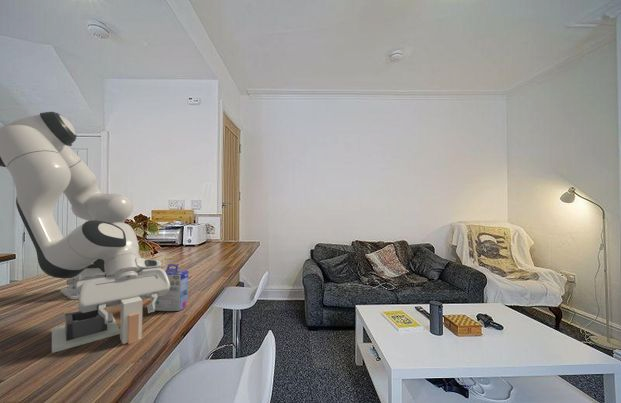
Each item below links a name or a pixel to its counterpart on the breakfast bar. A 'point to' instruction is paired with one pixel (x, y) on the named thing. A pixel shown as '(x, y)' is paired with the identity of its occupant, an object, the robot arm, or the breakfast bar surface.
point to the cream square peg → (131, 320)
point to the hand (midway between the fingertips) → (131, 316)
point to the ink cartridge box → (174, 291)
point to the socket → (82, 330)
